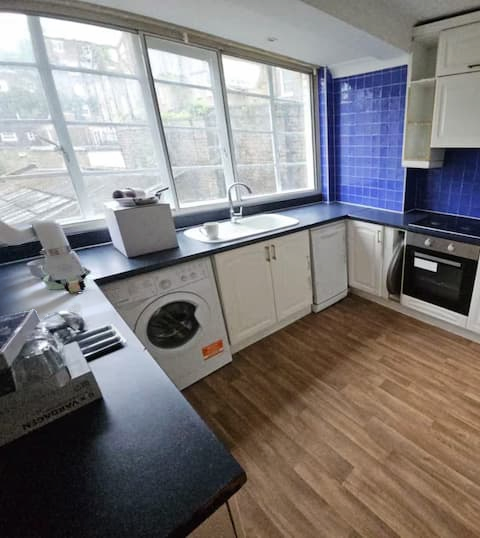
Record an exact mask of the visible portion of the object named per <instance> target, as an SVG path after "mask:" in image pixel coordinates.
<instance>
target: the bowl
mask: <svg viewBox="0 0 480 538" xmlns="http://www.w3.org/2000/svg"><path fill="white" fill-rule="evenodd" d="M49 276H50V275H48V276H46V277H45V278H42V281H43V283H44V285H45V287H46V288H47V289H48V290H53V291H54V290H55V291H57V290H65V287H64V286H63V285H61V284H58V283H56V282H49V281H48V279H49ZM65 279H66V282H67V283H69V282H73V281H77V280H78V278H77V277H76V276H75V277H70V278H65ZM84 280H85V281H86V280H87V276H86V277H85V278H84ZM84 280H83V281H84ZM85 281H84V282H85Z"/></svg>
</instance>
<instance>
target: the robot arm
mask: <svg viewBox="0 0 480 538" xmlns="http://www.w3.org/2000/svg"><path fill="white" fill-rule="evenodd" d="M34 240H35V241H36V240H39V242H40V245H41V246H42V249H43V250H42V249H41V250H39V254H40V255H44V258H45V261H46V265H47V268H48V270H49V273H50V276H49V279H48V281H49V282H56V283H58V284H61V285H63V286H64V287H65V289H64V290H65V291H66V292H67V293H69V294H71V292H70V290H69V288H68V286H69V283H67V282H66V279H65V278H70V277H75V276H76V277H77V278H78V281H79V282H78V283H79V285H80V288H81V290H82V291H85V288H86V287H87V286H86V284H85V281H83V280H84V278H85V277H86V278H87V276H89V275H90V274H91V273H92V270H90V269H89V268H87V267H86V266H84V264H83V262H82V261H81V258H80V256H79V255H78V254H77V253H76V251H75V250H72V247H71V245H70V243H69V240H68V238H67V236H66V234H65V231H64V230H63V227H62V225H61V223H60V222H59V221H58V220H56V219H45V220H44V219H43V220H38V219H27V220H23V221H19V222H15V223H11V224H8V223H7V222H5V221H3V220H2V219H0V242H1V243H4V244H6V245H10V246H20V245H23V244H26V243H28V242H32V241H34ZM45 254H46V256H45Z"/></svg>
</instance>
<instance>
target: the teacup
mask: <svg viewBox="0 0 480 538" xmlns="http://www.w3.org/2000/svg"><path fill="white" fill-rule="evenodd" d="M26 265H27V267H28V269H29V272H30V273H31V275H32V276H33V277H35V278H39V279H44V278H45V277H46V276H48V275H50V273H49V270H48V268H47V265H46V261H45V257H44V258H39V259H34V260H31V261H28V262H27V263H26Z"/></svg>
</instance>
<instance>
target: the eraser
mask: <svg viewBox="0 0 480 538" xmlns="http://www.w3.org/2000/svg"><path fill="white" fill-rule="evenodd" d="M78 282H79V281H78V280H77V281H73V282H69V286H68V288H69V290H70V292H71V293H70V294H71V295H72V294H75V295H77V294H76V293H79V292H82V293H83V290H81V288H80V285H79V283H78Z"/></svg>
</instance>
